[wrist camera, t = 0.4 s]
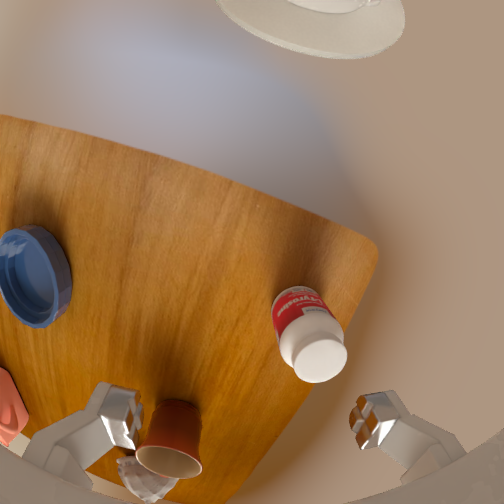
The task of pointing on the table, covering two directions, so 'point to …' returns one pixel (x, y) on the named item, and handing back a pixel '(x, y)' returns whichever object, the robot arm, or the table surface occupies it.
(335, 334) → the pill bottle
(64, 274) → the bowl
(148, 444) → the mug
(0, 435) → the teapot
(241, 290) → the table surface
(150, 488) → the seashell
